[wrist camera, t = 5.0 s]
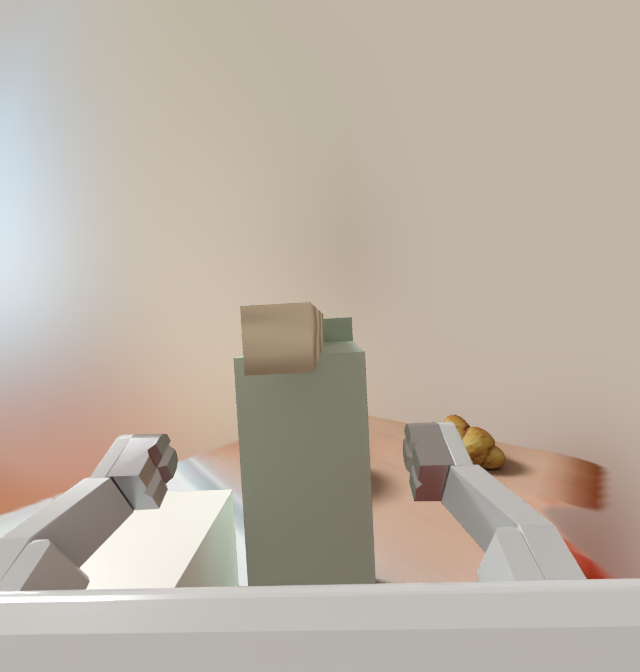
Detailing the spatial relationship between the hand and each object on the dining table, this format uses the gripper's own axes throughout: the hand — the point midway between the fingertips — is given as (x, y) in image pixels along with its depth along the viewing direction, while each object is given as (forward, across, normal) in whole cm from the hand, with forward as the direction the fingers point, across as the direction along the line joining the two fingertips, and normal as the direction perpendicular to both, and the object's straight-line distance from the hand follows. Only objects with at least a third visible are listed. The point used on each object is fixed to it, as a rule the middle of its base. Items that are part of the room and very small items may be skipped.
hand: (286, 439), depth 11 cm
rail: (+12, -1, -5) cm, 13 cm away
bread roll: (+32, +27, -48) cm, 64 cm away
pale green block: (+3, -1, -31) cm, 31 cm away
